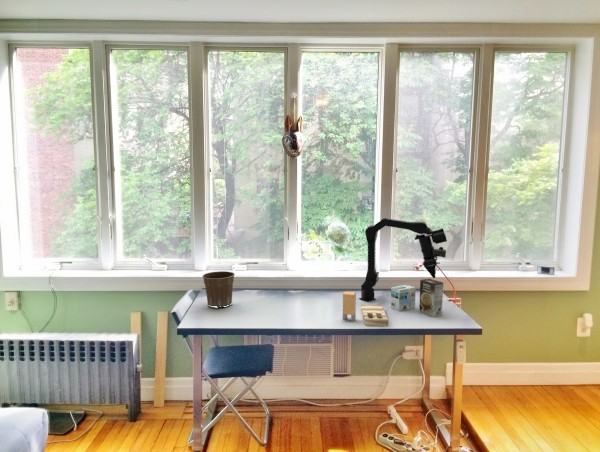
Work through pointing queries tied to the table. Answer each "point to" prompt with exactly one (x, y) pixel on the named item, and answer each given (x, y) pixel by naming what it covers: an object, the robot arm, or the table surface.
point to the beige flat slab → (374, 315)
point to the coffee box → (431, 297)
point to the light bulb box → (403, 297)
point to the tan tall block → (349, 305)
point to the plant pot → (219, 288)
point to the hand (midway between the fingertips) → (434, 275)
